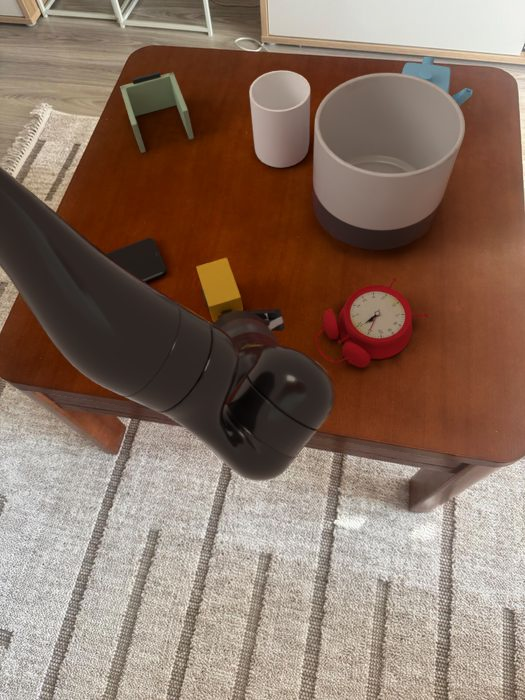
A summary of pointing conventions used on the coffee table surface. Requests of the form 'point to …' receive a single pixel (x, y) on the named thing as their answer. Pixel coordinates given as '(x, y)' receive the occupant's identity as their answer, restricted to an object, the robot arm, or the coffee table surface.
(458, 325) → the coffee table surface
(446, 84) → the teapot
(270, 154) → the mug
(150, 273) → the smartphone
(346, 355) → the alarm clock
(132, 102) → the bracket
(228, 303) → the yellow rectangular block
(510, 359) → the coffee table surface
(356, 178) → the planter
